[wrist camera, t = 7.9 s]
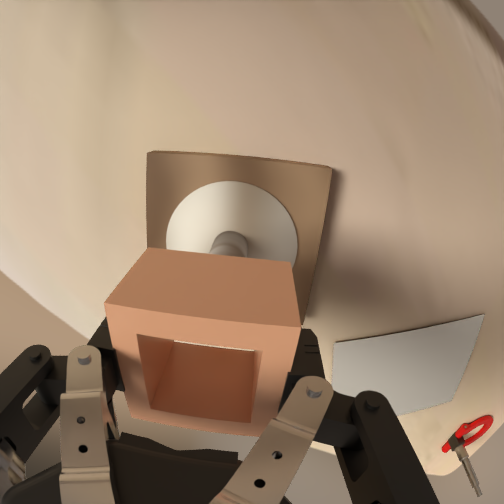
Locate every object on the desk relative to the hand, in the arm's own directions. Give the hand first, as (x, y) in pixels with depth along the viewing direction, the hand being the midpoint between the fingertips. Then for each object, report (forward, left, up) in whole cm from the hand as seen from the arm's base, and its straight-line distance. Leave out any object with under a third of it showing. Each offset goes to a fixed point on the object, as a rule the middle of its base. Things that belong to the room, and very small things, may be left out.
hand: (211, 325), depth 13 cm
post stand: (0, 0, -10) cm, 10 cm away
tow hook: (+40, -29, -11) cm, 51 cm away
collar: (0, 0, -1) cm, 1 cm away
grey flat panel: (+22, -8, -11) cm, 26 cm away
